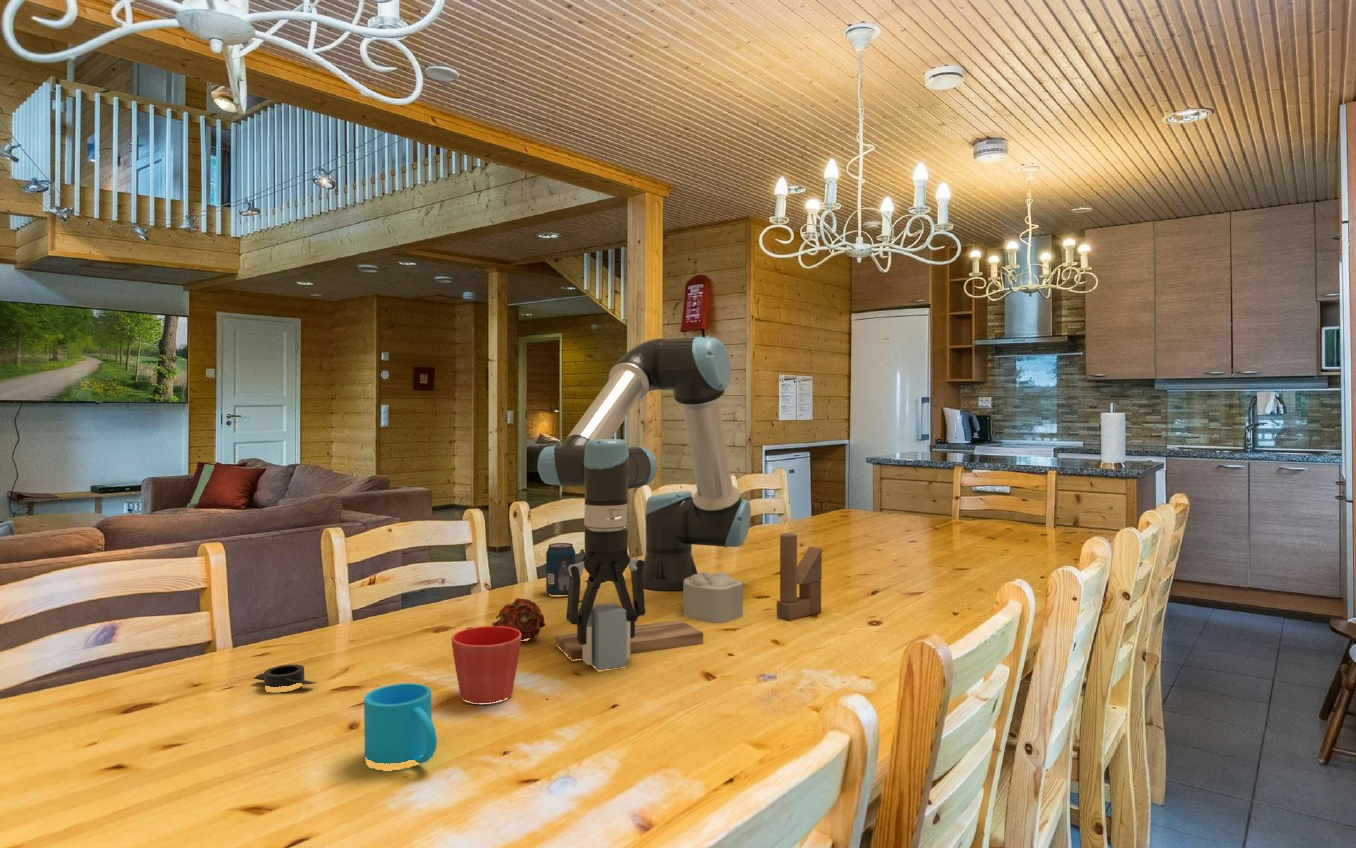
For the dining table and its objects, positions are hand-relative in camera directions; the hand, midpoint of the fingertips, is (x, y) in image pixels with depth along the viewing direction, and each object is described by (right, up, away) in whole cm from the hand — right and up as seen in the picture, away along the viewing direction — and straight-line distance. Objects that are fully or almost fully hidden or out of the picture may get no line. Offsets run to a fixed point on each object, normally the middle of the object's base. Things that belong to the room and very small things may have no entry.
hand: (606, 659), depth 138 cm
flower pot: (-17, -2, -15) cm, 23 cm away
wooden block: (+39, 0, +33) cm, 51 cm away
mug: (-22, -2, -37) cm, 43 cm away
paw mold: (+20, -1, +33) cm, 39 cm away
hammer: (-2, -1, +4) cm, 5 cm away
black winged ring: (-51, -2, -11) cm, 52 cm away
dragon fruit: (-18, -1, +15) cm, 24 cm away
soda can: (-15, 0, +51) cm, 53 cm away
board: (+3, -1, +11) cm, 12 cm away
